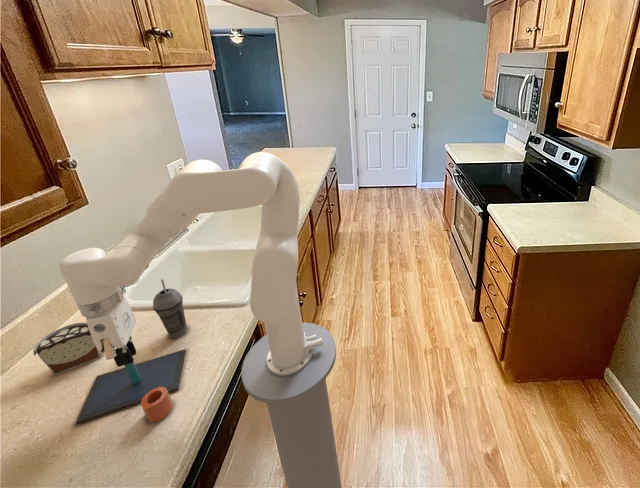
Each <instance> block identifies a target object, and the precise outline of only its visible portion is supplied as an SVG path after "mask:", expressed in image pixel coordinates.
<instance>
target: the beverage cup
mask: <svg viewBox="0 0 640 488" xmlns="http://www.w3.org/2000/svg"><path fill="white" fill-rule="evenodd" d="M160 281H161V285H162V290H160V291H159V292H157V293H156V295H155V296H154V298H153V300H152V309H153V310H154V312H155V313H156V315H158V317H159V319H160V321H161V323H162V325H163V327H164V328H165V330H166V332H167V333H168V335H169V337H170V338H171V339H179V338H181V337H182V336H184V335H185V334H186V333H187V332H188V326H187V319H186V315H185V310H184V306H183V305H184V304H183V303H184V301H183V299H184V298H183V295H182V294H181V292H179V291H178V290H177V289H176V288H175V289H174V288H166V284H165V281H164V279H163V278H161V279H160Z"/></svg>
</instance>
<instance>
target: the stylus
mask: <svg viewBox="0 0 640 488" xmlns="http://www.w3.org/2000/svg"><path fill="white" fill-rule="evenodd" d="M125 346H126V348H127V349H128V347H127V345H125ZM117 349H118V348H117ZM135 364H136V363H135V360H134V361H133V363H130V364H126V365H123V366H124V368H126V370H127V372H128V374H129V377H130V379H131V381H132V383H133V384H137V383H138V382H140V380H141V377H140V375H139V373H138V370H137V368H136V366H135Z"/></svg>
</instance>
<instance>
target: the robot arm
mask: <svg viewBox="0 0 640 488" xmlns="http://www.w3.org/2000/svg"><path fill="white" fill-rule="evenodd" d="M300 199H301V198H300V187H299V185H298V181H297V179H296V176H295V174H294V172H293V171H292V169H291V167H290V166H289V165H288V164H287V163H286V162H285V161H284V160H282V159H281V158H280V157H278V156H277V155H274V154H272V153H270V152H266V151H257V152H254V153H251V154H249V155H248V156H247V157H245V158H244V160H242V162H241V163H240V165H239V167H238V168H235V169H233V168H232V169H224V170H223V168H221V166H220V165H219V164H217V163H216V162H214V161H212V160H208V159H196V160H193V161H191V162H188V163H187V164H186V165H185V166H183V168H182V169H180V170H179V171H178V172H177V173H176V174H175V175H174V176H173V177H171V180H170V181H169V182H168V184H167V186H166V187H165V188H164V189H163V190H162V191H161V193H159V195H158V196H157V197H156V198H155V199H154V200H153V201H152V202H151V203H150V204H149V205H148V207H147V208H146V214H145V216H144V217H143V218H142V219H141V220H140V221H139V222H138V224H137V225H136V226H135V227H134V228H133V229H132V230H131V231H130V232H129V233H128V234H127V235H126V237H125V238H123V240H122V241H120V243H118V244H117V246H115V247H114V248H113V249H112V250H111V251H110V252H108V253H106V251H105V250H103V249H102V248H99V247H88V248H84V249H80V250H77V251H74V252H72V253H70V254H68V255H66V256H64V257H63V258H62V260H61V261H60V263H59V271H60V273H61V275H62V277H63V279H64V281H65V283H66V285H67V287H68V289H69V292H70V293H71V296H72V297H73V300H74V302H75V303H76V306H77V307H78V310H79V312H80V314H81V317H84V318H85V320H86V323H87V324H88V328H89V331H90V334H91V336H92V339H93V341H94V344H95V346H96V348H97V349H98V351H99V352H100V354H104V355H105V359H106V360H107V361H108V360H113V361H114V362H115V364H116V366H117V367H118V368H119V367H122V366H124V365H126V364H130V363H133V361H134V362H135V359H134V357H133V356H136V355H137V349H136V347H135V344H134V342H133V340H132V338H133V337H132V334H133V330H134V328H135V325H136V323H137V322H136V316H135V314H134V312H133V310H132V308H131V306H130V304H129V303H128V301H127V299H126V298H125V296H124V294H123V292H122V289H121V287H126V286H129V285H132V284H133V283H135V282H137V280H138V279H140V278H141V276H142V275H143V273H144V272H145V271H146V269H147V268H148V266H149V265H150V264H151V262H152V261H153V260H154V259H155V257H156V256H157V255H158V253H159V252H161V250H162V249H163V248H164V247H165V245H166V244H168V242H169V241H170V240H171V239H172V238H173V237H174V236H175V234H177V233H179V232H183V231H186V229H187V228H189V226H190V225H191V224H192V223H193V222H194V220H195V219H196V218H198V216H200V214H209V213H219V212H226V211H235V210H242V209H243V210H244V209H250V208H251V209H252V208H255V207H259V206H261V213H260V214H261V219H260V220H261V221H260V231H259V237H258V240H257V243H256V247H255V250H254V255H253V260H252V265H251V266H252V268H251V283H250V301H249V305H250V311H251V313H252V315H253V316H254V317H255V319H257V320H258V321H260V322H262V323H263V325H264V328H265V335H267V339H268V343H269V347H270V351H269V353H268V356H267V360H266V362H267V366H268V369H269V370H270V371H271V372H272V373H273V374H275V375H280V376H285V375H290V374H294V373H296V372H298V371H299V370H301V369H302V368H304V367H305V366H306V365H307V364H308V362H309V361H310V359H311V357H312V353H313V350H312V348H314V347H316V346H317V347H318V346H321V345H323V342H322V338H320V339H317V336H316V334H315V335H312V336H310V337H308V336H307V337H306V336H305V332H304V330H303V324H302V323H303V319H302V313H301V307H300V306H301V305H300V300H299V292H298V285H297V284H298V283H297V277H298V267H299V266H298V265H299V242H298V241H299V240H298V234H299V233H298V231H299V220H300V219H299V217H300V202H301V201H300ZM315 339H317V340H315ZM311 340H315V341H312V342H311ZM125 345H127V347H128V349H127V348H126V346H125ZM117 348H118V349H117Z"/></svg>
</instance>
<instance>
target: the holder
mask: <svg viewBox="0 0 640 488" xmlns="http://www.w3.org/2000/svg"><path fill="white" fill-rule="evenodd" d="M140 406H141V409H142V411H143V413H144V415H145V417H146V419H147V421H148V422H150V423H157V422H160V421H161V420H164V418H166V417H168V416H169V414H171V411H172V410H173V407H174V404H173V401H172V398H171V396H170V393H168V391H167V389H166V388H165V387H158V388H155V389H152V390H151V391H149V392H148V393H147V394H146V395H145V396H144V397H143V398H142V400H141V403H140Z"/></svg>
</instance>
